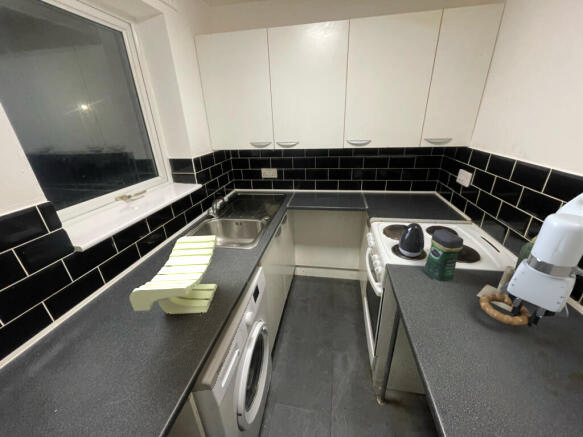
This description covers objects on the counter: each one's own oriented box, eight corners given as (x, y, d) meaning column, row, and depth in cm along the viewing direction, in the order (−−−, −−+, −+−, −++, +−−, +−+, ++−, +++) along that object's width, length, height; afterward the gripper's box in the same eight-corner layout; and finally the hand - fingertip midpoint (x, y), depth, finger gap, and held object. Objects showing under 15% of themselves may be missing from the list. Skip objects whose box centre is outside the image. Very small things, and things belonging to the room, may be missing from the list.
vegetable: (511, 283, 84) (532, 235, 76) (506, 275, 88) (526, 229, 79) (527, 285, 82) (550, 237, 74) (521, 278, 86) (543, 231, 78)
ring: (533, 313, 64) (536, 308, 63) (522, 334, 59) (525, 328, 58) (486, 292, 72) (489, 287, 72) (472, 309, 67) (474, 303, 66)
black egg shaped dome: (394, 247, 109) (398, 218, 103) (417, 248, 108) (423, 218, 102) (400, 259, 100) (405, 228, 94) (425, 260, 99) (433, 229, 92)
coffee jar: (456, 281, 86) (470, 238, 78) (437, 284, 85) (450, 241, 77) (437, 266, 95) (448, 226, 87) (420, 269, 93) (429, 228, 86)
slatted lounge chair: (185, 274, 97) (175, 237, 90) (223, 272, 97) (215, 235, 90) (145, 336, 70) (125, 290, 62) (197, 333, 70) (184, 287, 62)
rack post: (518, 301, 76) (534, 268, 71) (509, 314, 71) (526, 280, 66) (485, 286, 83) (497, 256, 77) (475, 297, 78) (487, 266, 73)
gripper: (605, 274, 51) (569, 332, 58) (510, 245, 63) (490, 297, 70) (601, 289, 47) (563, 349, 54) (501, 255, 59) (481, 308, 67)
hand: (522, 319), depth 62 cm, fingers closed on ring, 2 cm apart
